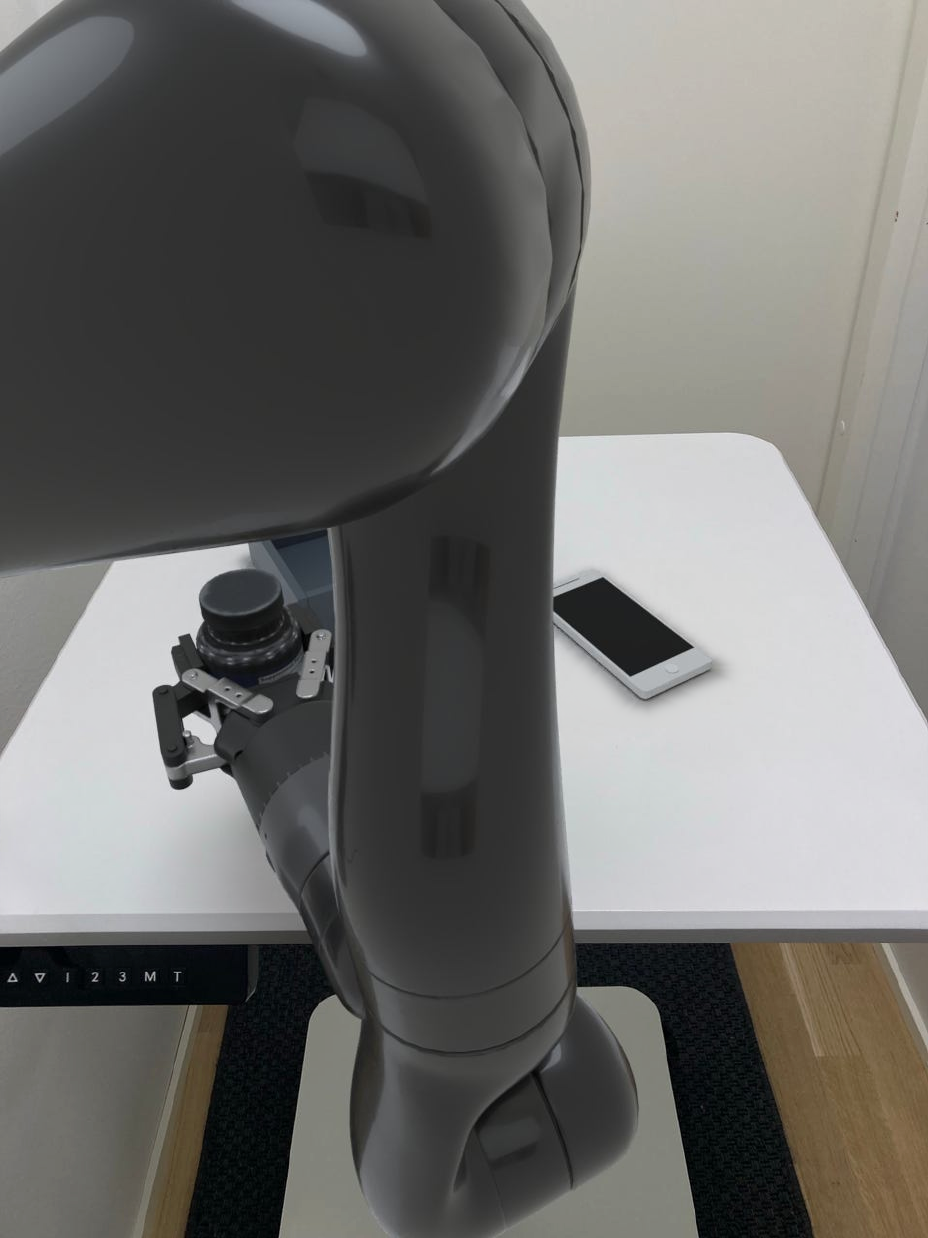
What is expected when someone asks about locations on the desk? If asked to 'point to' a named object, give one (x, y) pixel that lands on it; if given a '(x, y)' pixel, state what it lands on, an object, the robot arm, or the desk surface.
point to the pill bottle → (248, 629)
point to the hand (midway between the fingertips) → (240, 630)
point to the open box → (300, 571)
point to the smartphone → (625, 635)
